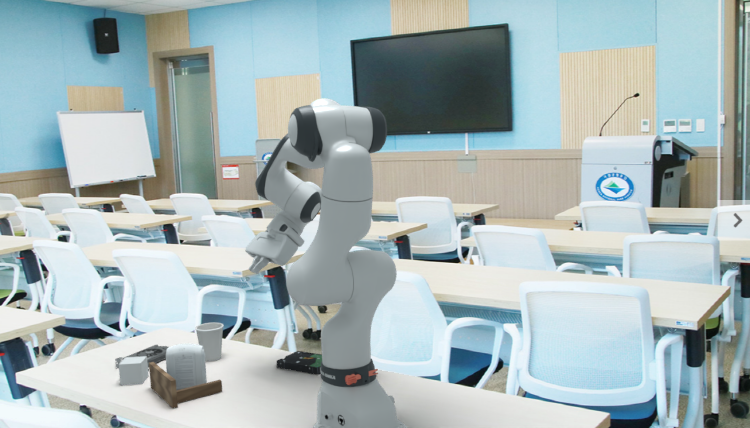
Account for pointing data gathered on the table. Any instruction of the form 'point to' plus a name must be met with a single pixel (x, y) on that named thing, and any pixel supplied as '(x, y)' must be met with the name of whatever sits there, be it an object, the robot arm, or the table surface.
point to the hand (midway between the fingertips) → (252, 271)
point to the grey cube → (133, 370)
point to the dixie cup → (210, 339)
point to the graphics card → (148, 354)
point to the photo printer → (186, 364)
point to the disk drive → (301, 362)
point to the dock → (168, 392)
